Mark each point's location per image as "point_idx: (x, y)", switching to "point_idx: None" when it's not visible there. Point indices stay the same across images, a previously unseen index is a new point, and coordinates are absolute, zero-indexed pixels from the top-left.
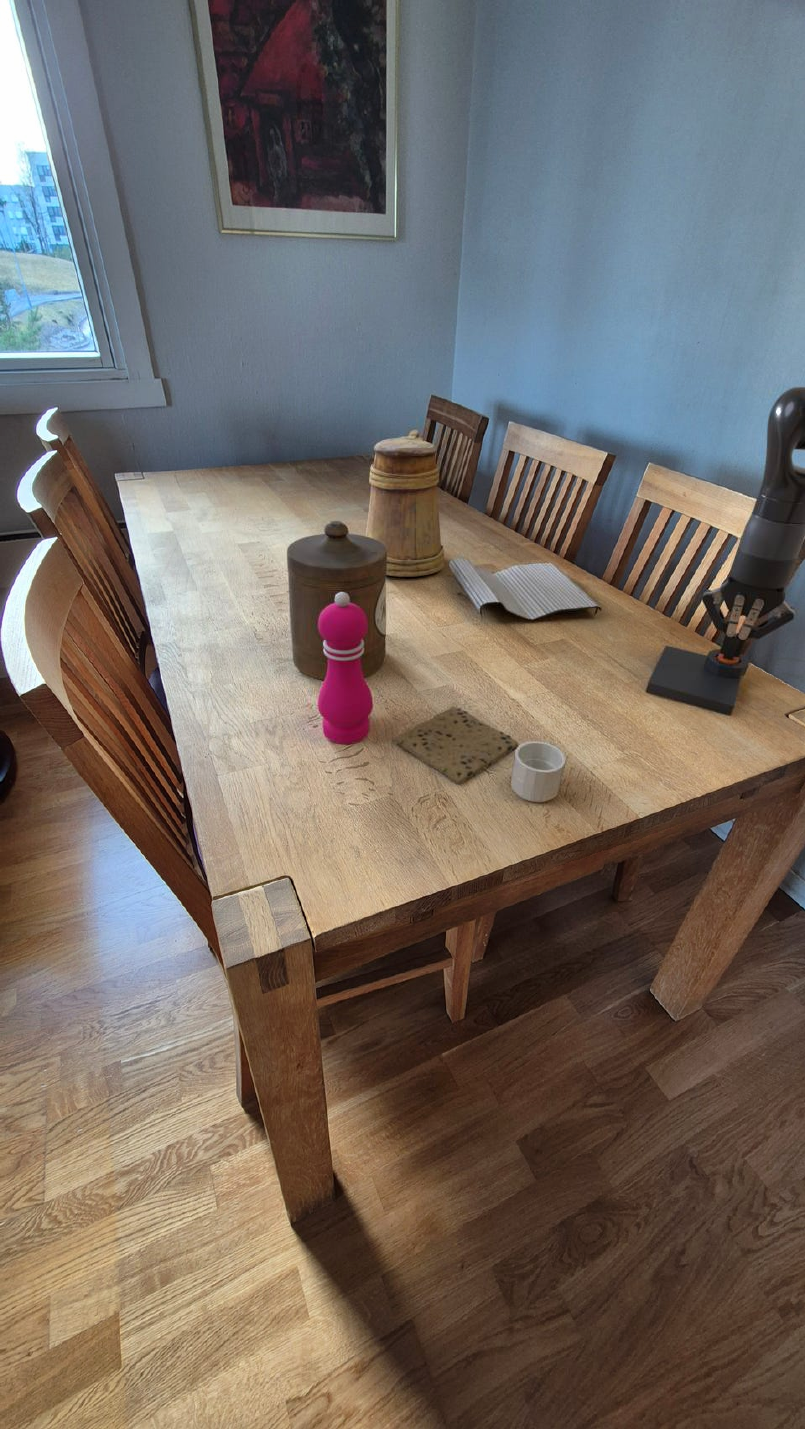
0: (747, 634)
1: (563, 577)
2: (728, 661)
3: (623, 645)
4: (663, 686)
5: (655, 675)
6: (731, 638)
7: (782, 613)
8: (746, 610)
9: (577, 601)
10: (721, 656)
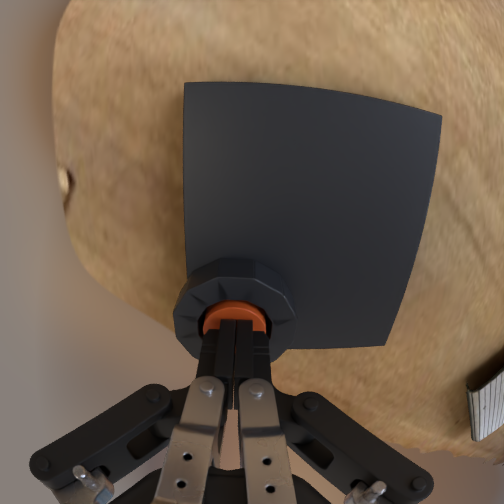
0: (191, 396)
1: (484, 425)
2: (232, 307)
3: (448, 320)
4: (406, 106)
5: (428, 167)
6: (247, 374)
7: (76, 483)
8: (223, 496)
9: (499, 384)
10: (256, 327)
